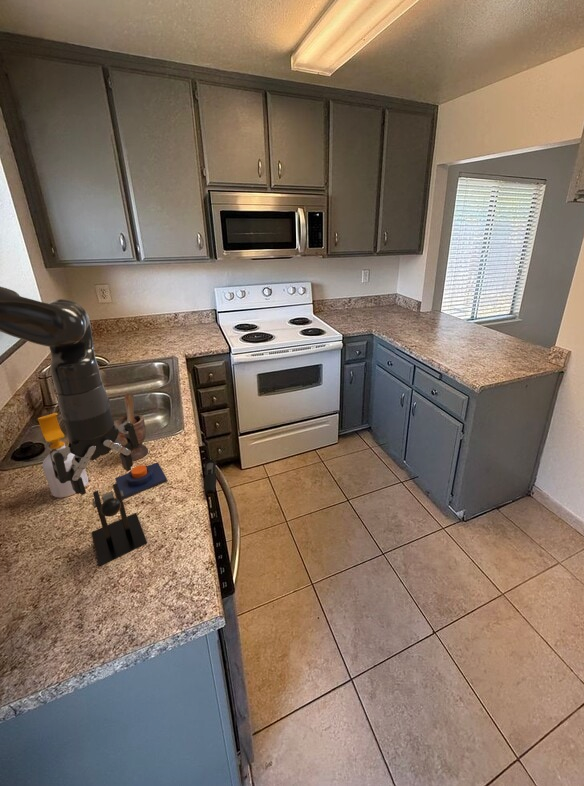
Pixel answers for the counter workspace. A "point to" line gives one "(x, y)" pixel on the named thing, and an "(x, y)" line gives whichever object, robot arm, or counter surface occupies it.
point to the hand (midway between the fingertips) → (105, 480)
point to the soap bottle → (51, 435)
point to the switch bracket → (116, 532)
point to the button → (139, 471)
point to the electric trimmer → (210, 476)
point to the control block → (141, 481)
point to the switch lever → (110, 505)
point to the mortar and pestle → (138, 427)
